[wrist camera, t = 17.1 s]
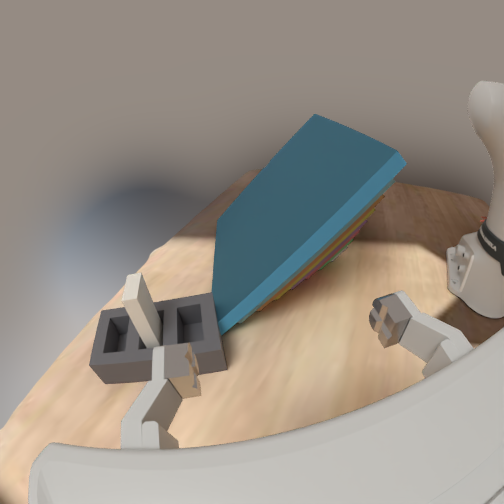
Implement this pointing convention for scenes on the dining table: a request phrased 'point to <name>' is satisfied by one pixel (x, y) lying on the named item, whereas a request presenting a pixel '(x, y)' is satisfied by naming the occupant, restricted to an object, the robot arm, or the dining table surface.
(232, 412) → the dining table surface
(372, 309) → the robot arm
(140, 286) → the white rectangular block
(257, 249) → the stacked coloured sheets
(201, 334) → the stand
